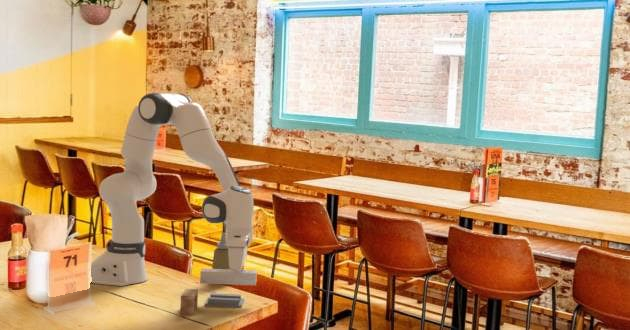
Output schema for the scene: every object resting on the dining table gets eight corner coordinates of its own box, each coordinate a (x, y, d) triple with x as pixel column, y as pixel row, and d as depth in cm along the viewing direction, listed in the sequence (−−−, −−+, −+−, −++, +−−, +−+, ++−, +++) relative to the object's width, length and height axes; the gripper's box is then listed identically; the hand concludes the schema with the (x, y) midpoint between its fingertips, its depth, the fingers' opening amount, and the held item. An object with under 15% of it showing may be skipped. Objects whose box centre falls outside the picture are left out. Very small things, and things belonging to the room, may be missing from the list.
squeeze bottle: (229, 286, 265) (231, 236, 263) (208, 283, 267) (209, 234, 265) (236, 280, 273) (238, 232, 271) (215, 278, 275) (216, 230, 273)
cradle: (204, 305, 241) (204, 299, 241) (208, 298, 249) (208, 292, 249) (241, 307, 241) (241, 301, 241) (244, 300, 249) (244, 294, 249)
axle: (200, 283, 242) (200, 271, 242) (202, 280, 246) (202, 268, 246) (255, 285, 242) (255, 273, 242) (256, 282, 246) (256, 270, 246)
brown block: (180, 314, 231) (180, 295, 231) (184, 306, 239) (185, 288, 238) (193, 315, 231) (193, 296, 231) (197, 307, 239) (197, 289, 238)
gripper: (233, 229, 253) (232, 269, 254) (225, 242, 233) (224, 285, 234) (251, 230, 253) (250, 270, 254) (245, 243, 233) (244, 286, 234)
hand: (238, 277), depth 244 cm, fingers closed on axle, 4 cm apart
